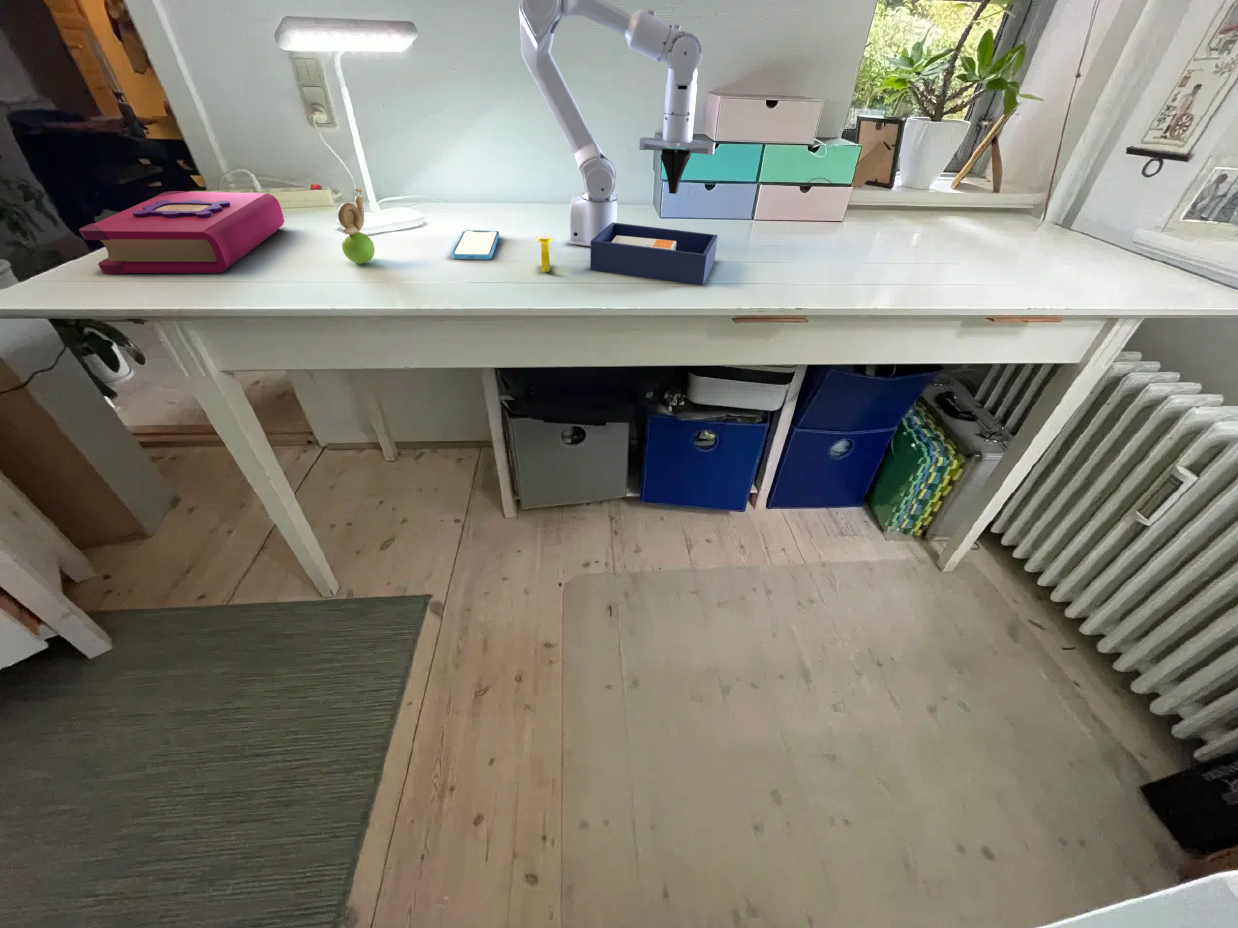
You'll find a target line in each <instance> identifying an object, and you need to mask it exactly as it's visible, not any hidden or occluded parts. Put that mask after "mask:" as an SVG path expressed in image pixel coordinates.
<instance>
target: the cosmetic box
mask: <svg viewBox="0 0 1238 928" xmlns="http://www.w3.org/2000/svg"><path fill="white" fill-rule="evenodd" d="M612 242H613V243H621V244H628V245H636V246H644V247H652V248H660V249H668V250H676V241H671V240H661V239H650V238H639V237H628V236H618V235H617V236H616V237H615V238H614V239H613V241H612Z"/></svg>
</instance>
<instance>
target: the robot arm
mask: <svg viewBox="0 0 1238 928" xmlns="http://www.w3.org/2000/svg"><path fill="white" fill-rule="evenodd" d="M518 14H519V27H520V30H519V31H520V53H521V56H522V59H523V61H524V63H525V65H526V67H527V69H528V71H529V73H530V75H531V76H532V78H533V80H534V82H535V84H536V86H537V88H538V89H539V91H540V94H541V95H542V97H543V100H544V101H545V103H546V105H547V106H548V109H549V110H550V113H551V114H552V116H553V118H554V120H555V121H556V123H557V125H558V127H559V129H560V131H561V133H562V135H563V137H564V138H565V140H566V142H567V144H568V146H569V148H570V149H571V151H572V153H573V155H574V159H575V161H576V164H577V168H578V169H579V171H580V173H581V176H582V185H583V189H584V191H583V192H582V194H580V195H579V194H576V195H573V197H572V199H571V201H570V205H569V238H570V239H569V241H568V245H569V244H570V245H575V246H584V247H590V241H591V240H592V239H593V238H595V237H596V236H597V235H598V234H599V233H600V232H602V231H603V230H604V229H605V228H606V227H607V226H608V225H610V224H611V223H612V222H613V223H618V222H617V220H618V194H617V193H616V192H615V189H616V178H617V169H616V166H615V164H614V163H613V161H611V159H609V158H608V157H607V156H605V154H604V153H603V151H602V149H601V147H600V146H599V145H598V142H597V141H596V139H595V138H594V136H593V134H592V132H591V130H590V128H589V126H588V124H587V122H586V120H585V119H584V117H583V114H582V113H581V110H580V108H579V107H578V104H577V103H576V100H575V99H574V97H573V95H572V92H571V90H570V89H569V86H568V85H567V82H566V81H565V79H564V75H562V73H561V70H560V68H559V67H558V64H557V63H556V60H555V59H554V57H553V55H552V46H553V42H554V37H555V31H556V29H557V27H558V25H559V24H560V22H561V19H562V18H566V19H570V18H571V19H572V18H577V17H584V18H586V19H588V20H590V21H593V22H595V23H597V24H599V25H601V26H603V27H606V28H608V29H610V30H612V31H614V32H617V33H619V34H621V35H624V38H625V40H626V43H627V46H628V49H630V50H632V51H635V52H636V53H639V54H640V55H642V56H645V57H647V58H649V59H650V60H653V61H655V62H656V63H659V64H663V63H667V65H668V67H667V79H666V83H665V91H664V109H663V124H662V137H644V136H643V137H640V138H639V143H638V144H639V145H638V146H639V148H638V150H639V151H660V152H661V154H660V160H661V162H662V165H663V168H664V171H665V174H666V179H667V185H668V194H671V195H672V194H673V195H676V194H677V193H678V192H679V186H680V183H681V179H682V176H683V173H684V171H685V169H686V167H687V164H688V162H689V160H690V158H691V156H692V154H700V155H708V156H714V154H715V150H716V149H715V148H716V142H715V141H708V140H707V141H705V140H699V139H698V140H697V139H693V135H694V125H695V124H694V123H695V113H696V102H697V101H696V100H697V92H698V91H697V90H698V84H697V79H698V67H699V66H700V64H701V62H702V60H703V52H702V45H701V43H700V40H699V39H698V37H697V36H696V35H695V34H693V33H691V32H688V31H687V30H681V27H682V25H681V24H680V23H678V22H675V23H674V24H672V23H670V22H668V21H667V20H664V19H663V18H660V17H659V16H657V15H656V10H654V9H652V8H650V7H648V9H647V10H645V9H643V8H641V9H639V10H637V11H635V12H633V13H629V12H627V11H625V10H624V9H622V8H620V7H618V6H616V5H615V4H613V3H610V2H609V1H607V0H519V4H518ZM680 30H681V31H680Z"/></svg>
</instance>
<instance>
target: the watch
mask: <svg viewBox="0 0 1238 928" xmlns="http://www.w3.org/2000/svg"><path fill="white" fill-rule="evenodd" d="M536 241H537V242H538V243H540V256H541V257H540V259H541V263H540V264H541V272H542V273H543V272H544V273H545V272H546V273H547V272H548V273H549V272H550V270H551V266H550V243H551V242H553V236H552V235H548V234H540V235H537V236H536Z"/></svg>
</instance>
